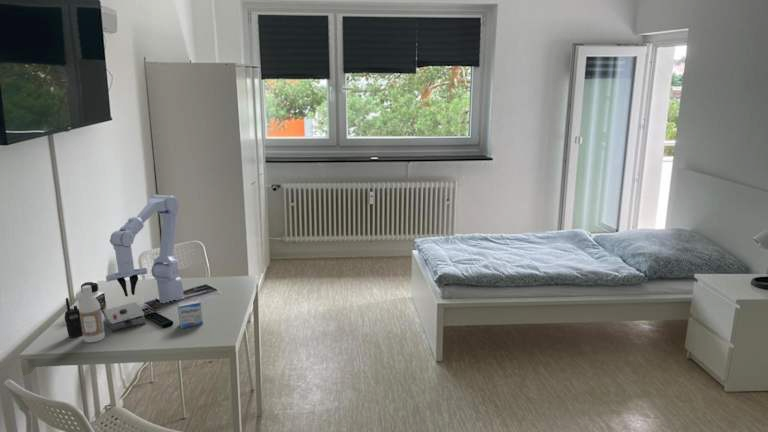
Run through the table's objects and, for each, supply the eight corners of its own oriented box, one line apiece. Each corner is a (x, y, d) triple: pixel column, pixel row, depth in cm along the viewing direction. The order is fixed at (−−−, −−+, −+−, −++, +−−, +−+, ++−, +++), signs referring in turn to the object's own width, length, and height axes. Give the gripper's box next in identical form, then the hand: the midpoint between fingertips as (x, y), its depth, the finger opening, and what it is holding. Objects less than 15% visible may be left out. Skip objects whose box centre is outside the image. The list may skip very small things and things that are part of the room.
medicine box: (181, 328, 219) (178, 306, 217) (179, 324, 223) (176, 303, 221) (203, 324, 222) (200, 302, 220) (201, 320, 226) (198, 298, 224)
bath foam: (81, 344, 208) (72, 290, 204) (86, 336, 215) (78, 284, 210) (102, 341, 210) (94, 288, 205) (107, 333, 217) (99, 282, 212)
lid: (135, 303, 234) (135, 299, 234) (144, 315, 223) (143, 310, 222) (102, 312, 228) (101, 308, 227) (109, 325, 216) (108, 320, 216)
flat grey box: (135, 310, 237) (134, 303, 236) (147, 326, 222) (146, 318, 221) (103, 318, 231) (102, 311, 230) (112, 334, 215) (111, 327, 215)
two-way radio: (68, 339, 213) (62, 300, 209) (66, 335, 216) (60, 296, 213) (85, 334, 216) (79, 296, 213) (83, 330, 220) (77, 292, 216)
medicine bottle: (95, 315, 234) (90, 286, 231) (79, 314, 235) (74, 285, 233) (107, 308, 241) (102, 280, 238) (91, 307, 242) (87, 279, 239)
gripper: (106, 268, 218) (111, 302, 221) (147, 260, 226) (151, 293, 229) (102, 263, 224) (108, 297, 227) (143, 255, 232) (147, 288, 235)
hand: (129, 294), depth 228 cm, fingers closed
